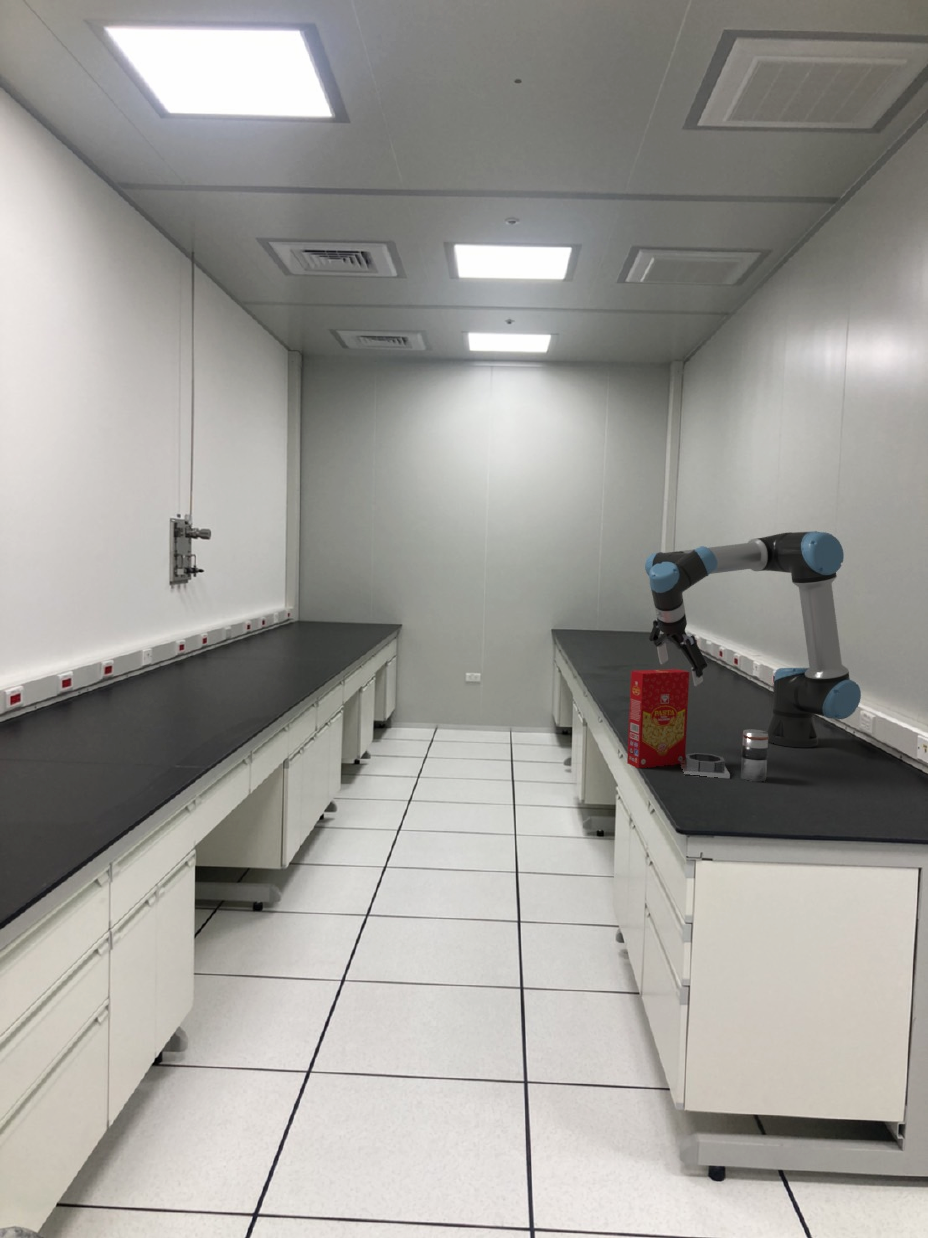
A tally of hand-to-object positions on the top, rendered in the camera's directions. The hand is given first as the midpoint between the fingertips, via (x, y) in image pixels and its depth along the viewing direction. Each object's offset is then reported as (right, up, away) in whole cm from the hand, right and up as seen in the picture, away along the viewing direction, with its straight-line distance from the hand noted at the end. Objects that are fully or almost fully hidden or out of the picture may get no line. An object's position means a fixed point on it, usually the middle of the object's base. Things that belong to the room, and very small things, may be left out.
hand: (681, 672), depth 230 cm
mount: (+1, -25, -19) cm, 31 cm away
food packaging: (-10, -24, -12) cm, 29 cm away
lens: (+12, -25, -24) cm, 37 cm away
